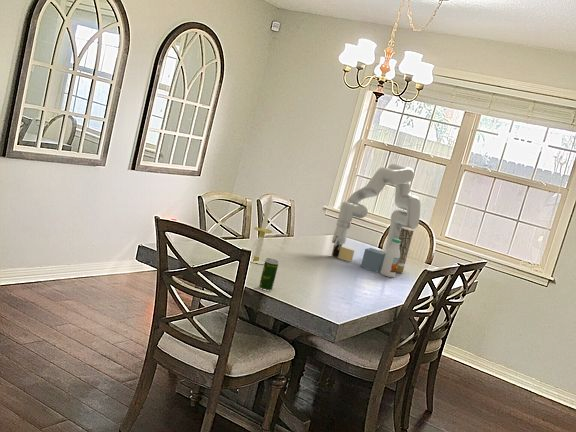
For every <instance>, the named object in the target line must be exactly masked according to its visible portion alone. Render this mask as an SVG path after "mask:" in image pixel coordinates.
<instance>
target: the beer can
mask: <svg viewBox="0 0 576 432" xmlns="http://www.w3.org/2000/svg"><path fill="white" fill-rule="evenodd" d="M264 262H265V263H264V265H263V269H262V273H261V276H260V280H259V285H258V287H260V288H262V289H266V290H271V291H272V290H273V287H274V283H275V279H276V275H277V270H278V267H279V260H277V259H275V258H270V257H267V258H265V260H264ZM260 288H259V289H260ZM262 289H261V290H262Z"/></svg>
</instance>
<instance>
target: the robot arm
mask: <svg viewBox="0 0 576 432" xmlns="http://www.w3.org/2000/svg"><path fill="white" fill-rule="evenodd" d="M414 178H415V171H414V170H413V168H411V167H409V166H405V165H401V164H397V163H392V164H389V165H388V167H380V168H378V169H377V171H376V172H375V173H374V174H373V175H372V177H371V178H370V180H369V181H368V183H366V185H365V186H364V187H362V188H360V189H358V190H356V191H354V192H353V193H352V194H351V195H350V196H349V197H348V198H347V200H346V201H343V202H342V203H341V206H340V208H339V214H338V217H337V221H336V227H335V230H334V233H333V236H332V239H331V243H332V244H333V246H334V251H333V256H332V257H334V256H335V258H337V257H338V255H339V251H340V250H339V248H340V246H341V247H343V245H345V244H346V242H347V237H348V233H349V230H350V229H351V224H352V220H353V217H355V218H358V219H363V218H365V217H367V215H368V208H367V207H366V205H363V204H362V203H361V204H360V202H362V201H363V200H365V199H368V198H373V197H374V198H375V197H377V196H379V194H380V193H381V191H382V190H383V189H384V188H385V186H386V185H391V186H395V193H394V204H395V206H396V207H397V208H399V209H395V210H393V212H392V213H391V216H390V223H389V229H388V234H387V238H386V242H385V245H384V249H383V252H387V250H388V249H389V247H390V246H391V244H392V239H393V238H395V239H399V236H400V232H401V228H402V227H407V228H411V229H413V230H414V231H415V230H416V229H417V228H418V226H419V224H420V215H421V200H420V198H419V196H416V195H414V194H411V182H412V181H413V180H414Z"/></svg>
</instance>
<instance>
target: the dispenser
mask: <svg viewBox="0 0 576 432" xmlns="http://www.w3.org/2000/svg"><path fill="white" fill-rule="evenodd" d="M385 254H386V252H384V250H383V251H382V250H379V249H376V248H373V247H368V248H364V252H363V256H362V261H361V265H360V267H361V268H362V269H366V270H368V271H369V270H370V271H373V272H376V273H381V269H382V265H383V262H384V258H385Z"/></svg>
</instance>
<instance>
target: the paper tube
mask: <svg viewBox="0 0 576 432" xmlns="http://www.w3.org/2000/svg"><path fill="white" fill-rule="evenodd" d="M414 231H415V229H414V230H413V229H411V228H407V227H402V228H401V232H400V236H399V240H401V243H400V245H399V249H400V259H399V263H398V267H397V270H396V272H397V273H398V274H402V273H403V272H404V269H405V266H406V262H407V258H408V255H409V251H410V246H411V242H412V238H413V235H414Z"/></svg>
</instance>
